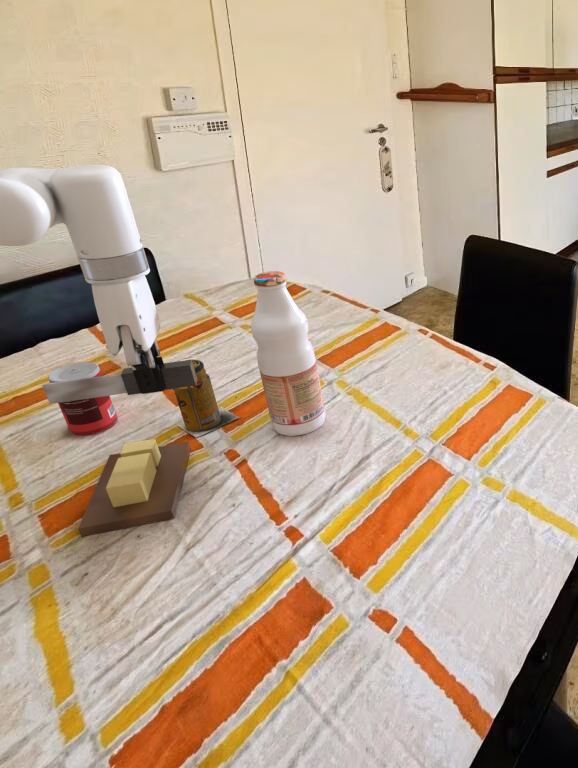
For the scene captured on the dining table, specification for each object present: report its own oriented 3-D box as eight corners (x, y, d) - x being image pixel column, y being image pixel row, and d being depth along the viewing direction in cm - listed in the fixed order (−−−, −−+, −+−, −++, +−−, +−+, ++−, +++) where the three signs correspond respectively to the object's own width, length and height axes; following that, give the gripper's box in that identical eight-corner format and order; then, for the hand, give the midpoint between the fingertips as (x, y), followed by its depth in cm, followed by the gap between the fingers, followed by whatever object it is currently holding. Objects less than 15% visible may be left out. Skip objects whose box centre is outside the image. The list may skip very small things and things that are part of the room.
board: (81, 536, 87) (77, 528, 87) (112, 462, 103) (109, 454, 103) (174, 518, 91) (171, 510, 90) (191, 448, 107) (188, 441, 106)
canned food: (105, 409, 119) (86, 357, 114) (126, 421, 115) (107, 368, 110) (61, 427, 113) (39, 373, 108) (82, 440, 109) (59, 385, 104)
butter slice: (126, 471, 98) (119, 453, 97) (130, 461, 101) (124, 443, 99) (158, 466, 100) (151, 448, 98) (161, 456, 102) (155, 438, 100)
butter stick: (113, 507, 91) (105, 488, 89) (125, 476, 97) (118, 457, 96) (147, 501, 92) (140, 482, 90) (156, 470, 99) (150, 452, 97)
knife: (47, 406, 87) (38, 385, 85) (52, 400, 88) (43, 378, 87) (195, 385, 91) (189, 365, 90) (197, 379, 93) (191, 359, 91)
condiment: (176, 425, 113) (157, 366, 108) (220, 406, 119) (204, 349, 114) (196, 438, 109) (177, 378, 104) (240, 418, 115) (225, 360, 109)
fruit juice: (266, 438, 109) (229, 286, 96) (280, 411, 117) (248, 267, 104) (321, 435, 110) (292, 284, 96) (330, 408, 118) (305, 265, 105)
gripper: (99, 251, 88) (138, 367, 96) (63, 287, 74) (113, 418, 83) (157, 246, 90) (190, 360, 98) (133, 280, 76) (174, 409, 85)
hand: (154, 386), depth 91 cm, fingers closed on knife, 2 cm apart
